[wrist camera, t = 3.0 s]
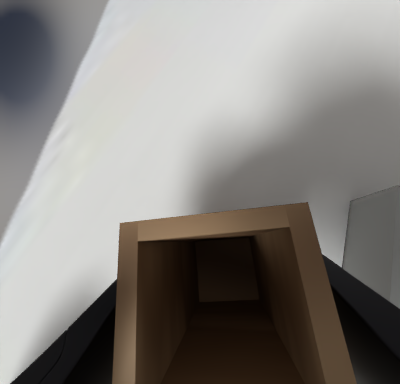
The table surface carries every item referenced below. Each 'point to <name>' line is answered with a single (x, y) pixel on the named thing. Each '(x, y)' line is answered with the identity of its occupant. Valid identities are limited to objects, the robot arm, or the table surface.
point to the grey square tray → (375, 242)
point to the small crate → (227, 301)
